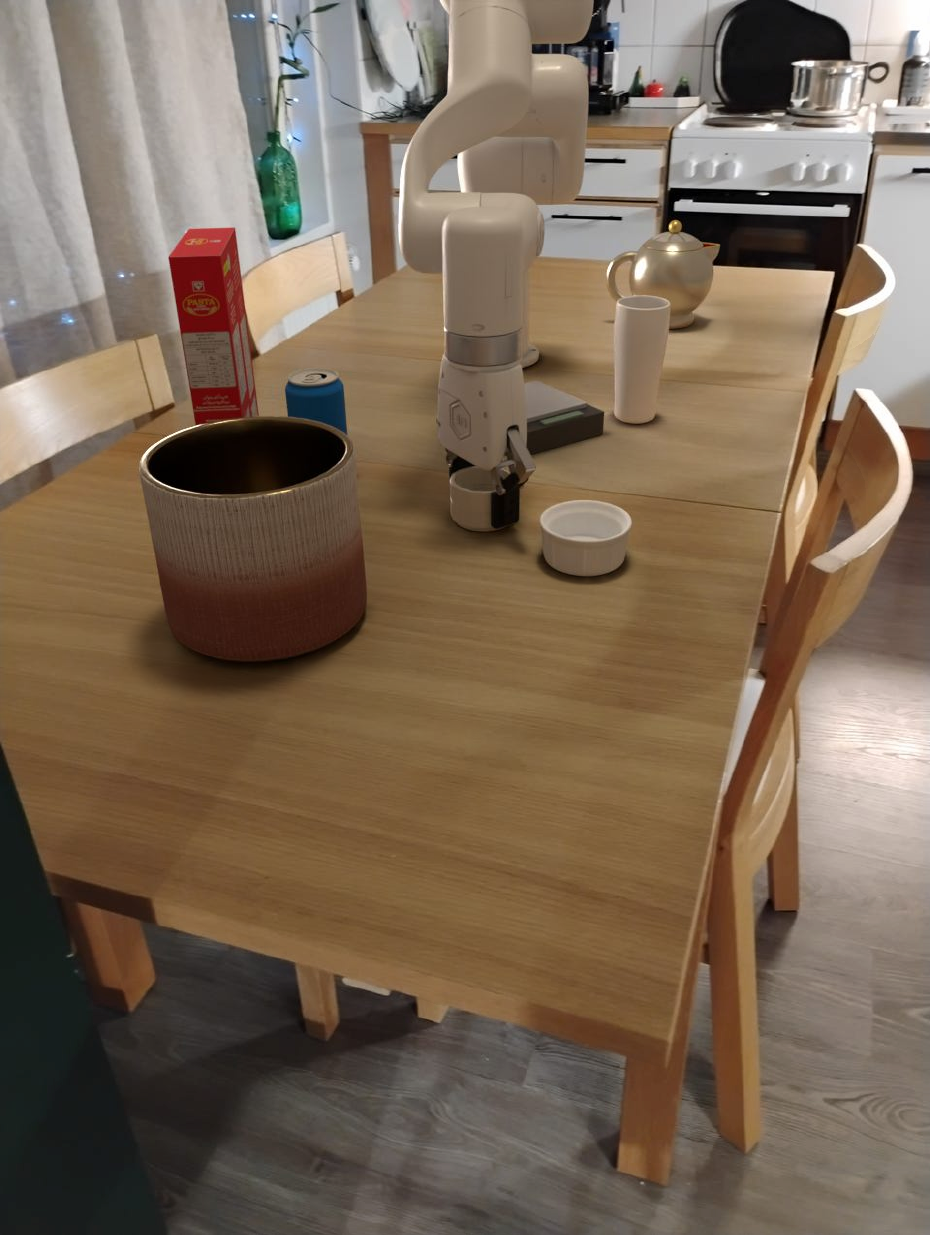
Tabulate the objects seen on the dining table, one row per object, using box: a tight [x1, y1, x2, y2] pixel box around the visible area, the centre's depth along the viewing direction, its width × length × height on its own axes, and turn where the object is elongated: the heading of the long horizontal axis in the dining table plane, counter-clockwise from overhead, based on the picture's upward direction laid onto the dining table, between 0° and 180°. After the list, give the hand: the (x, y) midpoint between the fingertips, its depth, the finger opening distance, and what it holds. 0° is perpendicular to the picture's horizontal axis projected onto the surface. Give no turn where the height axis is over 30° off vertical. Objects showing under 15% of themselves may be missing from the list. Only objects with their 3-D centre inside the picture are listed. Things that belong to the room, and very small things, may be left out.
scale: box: [524, 380, 605, 456], centre depth 128 cm, size 14×12×4 cm
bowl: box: [449, 466, 510, 532], centre depth 106 cm, size 7×7×5 cm
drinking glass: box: [613, 295, 671, 425], centre depth 128 cm, size 7×7×15 cm
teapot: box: [605, 219, 721, 330], centre depth 165 cm, size 18×14×16 cm
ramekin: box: [539, 499, 633, 577], centre depth 98 cm, size 9×9×4 cm
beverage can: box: [284, 367, 348, 436], centre depth 114 cm, size 6×6×12 cm
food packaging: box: [167, 226, 260, 426], centre depth 116 cm, size 15×5×25 cm, turn 5°
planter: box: [138, 415, 368, 663], centre depth 87 cm, size 18×18×16 cm
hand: (483, 510), depth 107 cm, fingers closed on bowl, 7 cm apart
